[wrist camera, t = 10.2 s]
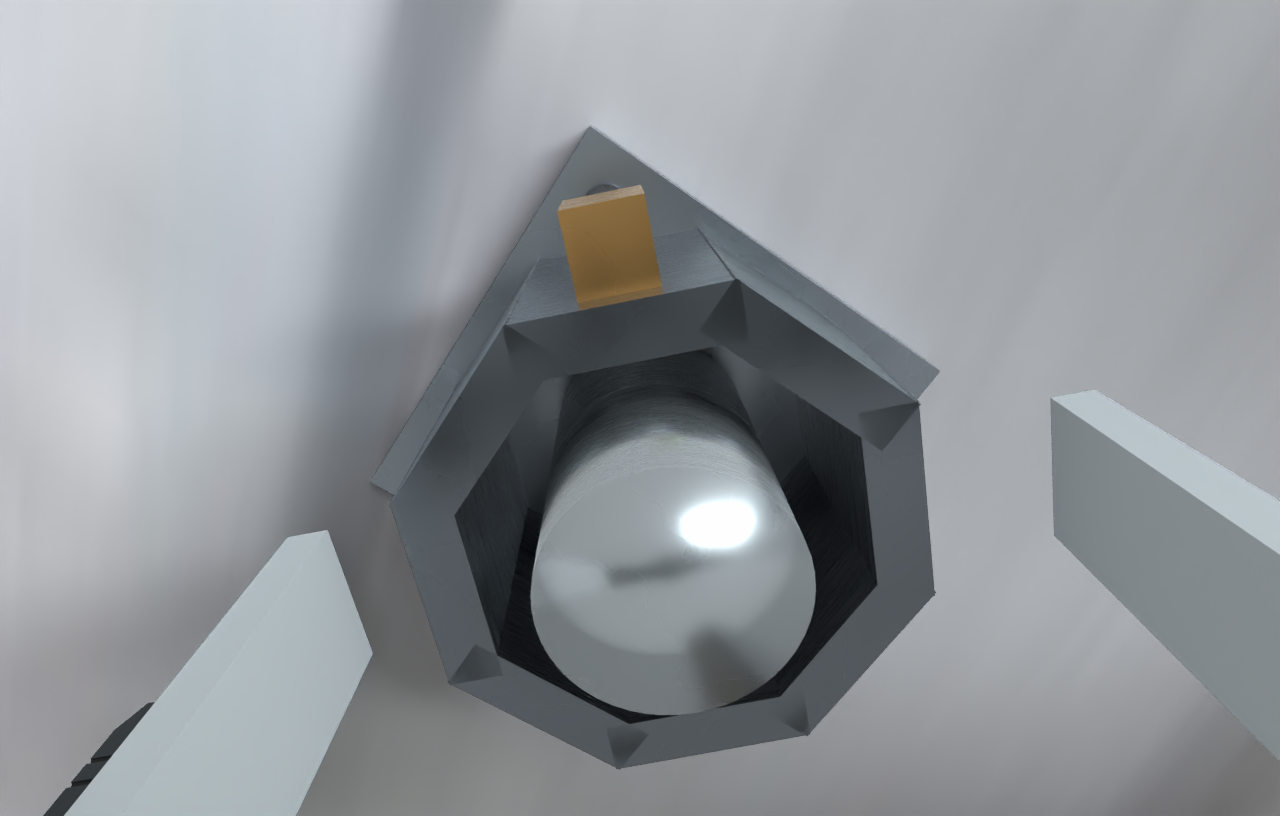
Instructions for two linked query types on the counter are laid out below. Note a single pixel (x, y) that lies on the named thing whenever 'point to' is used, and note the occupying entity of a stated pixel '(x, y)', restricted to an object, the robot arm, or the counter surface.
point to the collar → (814, 488)
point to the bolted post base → (658, 479)
